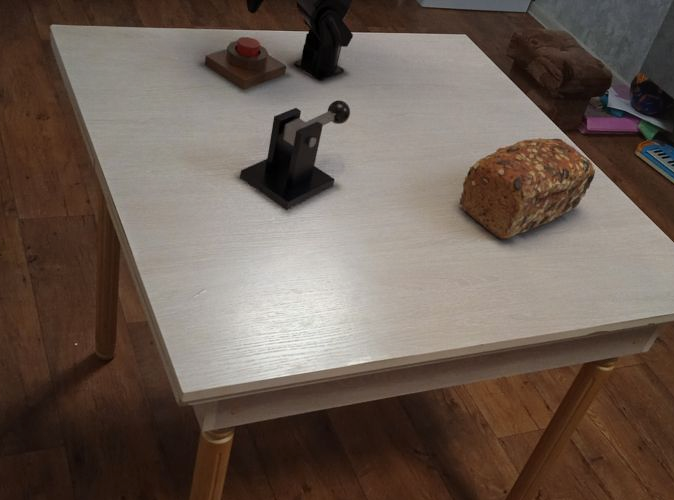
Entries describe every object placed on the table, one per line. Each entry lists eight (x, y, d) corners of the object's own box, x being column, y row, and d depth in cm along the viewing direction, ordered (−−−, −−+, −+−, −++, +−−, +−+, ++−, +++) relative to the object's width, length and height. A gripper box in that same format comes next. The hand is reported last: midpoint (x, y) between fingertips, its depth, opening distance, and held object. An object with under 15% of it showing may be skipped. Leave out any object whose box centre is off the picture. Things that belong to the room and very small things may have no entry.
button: (247, 45, 137) (248, 35, 136) (263, 54, 136) (264, 44, 134) (231, 49, 135) (233, 39, 133) (247, 59, 133) (249, 49, 132)
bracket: (287, 155, 122) (298, 95, 115) (333, 185, 119) (347, 125, 112) (239, 177, 115) (248, 114, 109) (286, 209, 112) (298, 147, 105)
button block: (246, 51, 142) (249, 31, 140) (285, 74, 139) (288, 55, 137) (204, 64, 136) (206, 44, 133) (243, 89, 133) (246, 69, 130)
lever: (335, 113, 120) (339, 93, 117) (352, 123, 118) (356, 104, 116) (279, 140, 112) (282, 119, 110) (296, 151, 111) (300, 130, 109)
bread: (503, 246, 117) (529, 187, 110) (451, 204, 121) (472, 145, 115) (580, 212, 127) (608, 157, 120) (529, 175, 132) (553, 120, 125)
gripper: (180, -112, 118) (173, -4, 129) (275, -61, 111) (259, 49, 122) (236, -119, 125) (224, -16, 136) (328, -71, 118) (308, 33, 129)
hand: (252, 12), depth 130 cm, fingers closed
